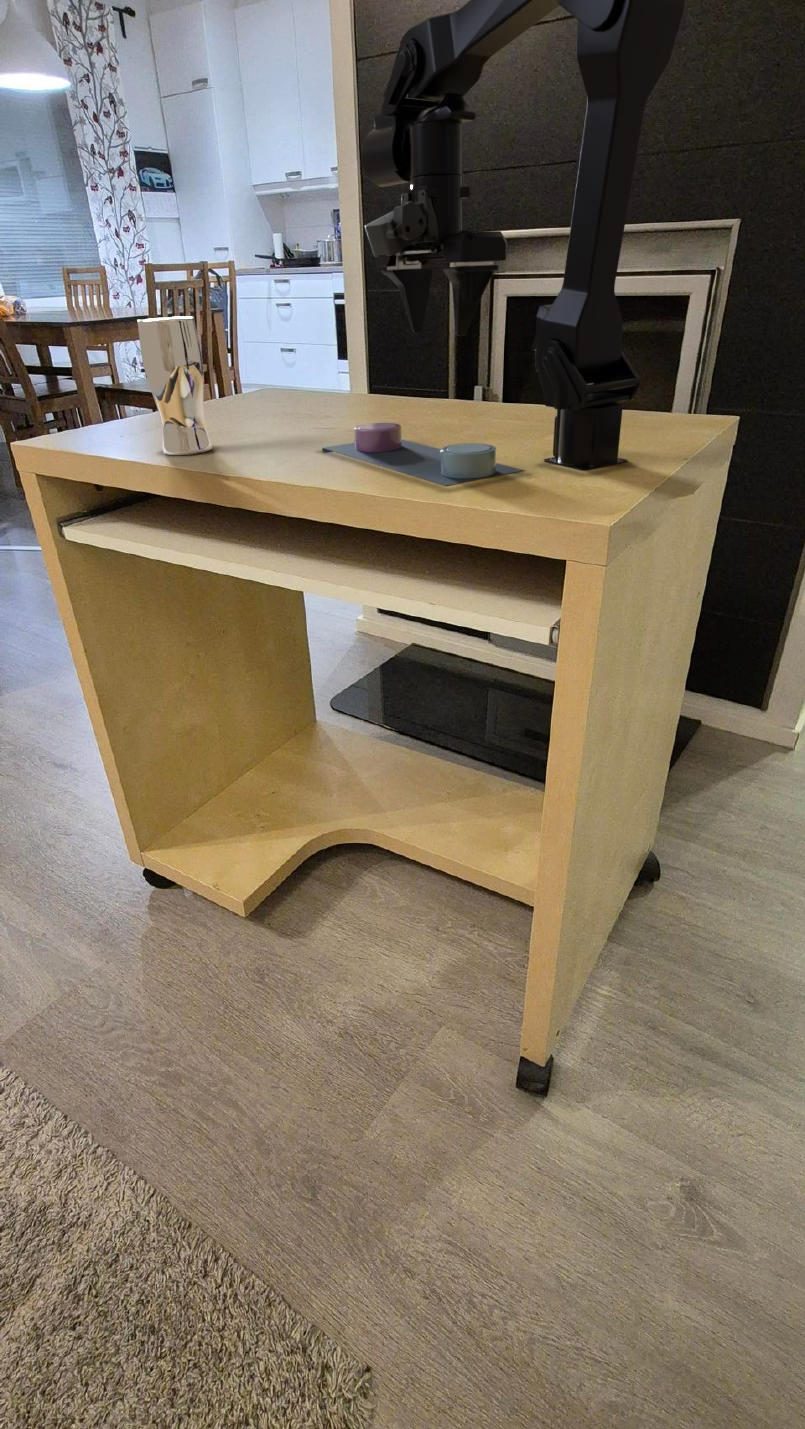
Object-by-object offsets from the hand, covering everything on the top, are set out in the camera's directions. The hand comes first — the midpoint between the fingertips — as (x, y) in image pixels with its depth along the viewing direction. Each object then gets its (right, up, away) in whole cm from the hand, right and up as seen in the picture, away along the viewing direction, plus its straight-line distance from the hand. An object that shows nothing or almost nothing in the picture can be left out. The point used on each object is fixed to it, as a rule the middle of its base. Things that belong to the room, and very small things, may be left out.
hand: (438, 334), depth 93 cm
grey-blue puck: (+2, -21, -14) cm, 25 cm away
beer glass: (-32, -12, +5) cm, 34 cm away
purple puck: (-7, -14, -1) cm, 16 cm away
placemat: (-3, -18, -6) cm, 19 cm away
